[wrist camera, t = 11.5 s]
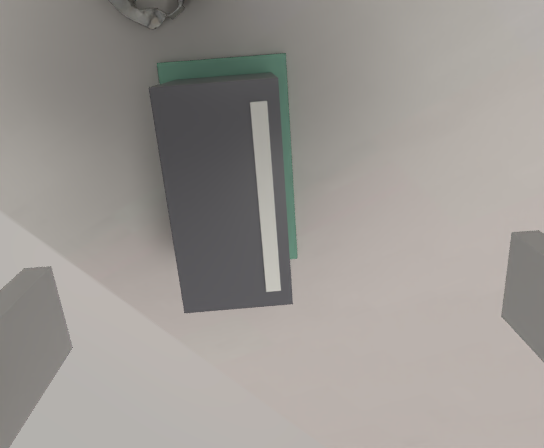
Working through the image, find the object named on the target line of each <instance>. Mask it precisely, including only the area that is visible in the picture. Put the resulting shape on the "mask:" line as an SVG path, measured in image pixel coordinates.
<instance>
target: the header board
mask: <svg viewBox="0 0 544 448" xmlns="http://www.w3.org/2000/svg"><path fill="white" fill-rule="evenodd" d="M157 68H158V75H159V82H160V84H163V83H166V82H169V81H173V80H177V79H190V78H203V77H216V76H229V75H242V74H255V73H268V72H272V73H273V74H274V75H275V76H277V77H278V82H279V98H280V113H281V129H282V145H283V160H284V176H285V191H286V207H287V223H288V238H289V254H290V259H296V258H297V242H296V225H295V207H294V190H293V172H292V155H291V138H290V120H289V103H288V86H287V68H286V53H282V54H269V55H256V56H243V57H230V58H216V59H203V60H190V61H177V62H164V63H157Z"/></svg>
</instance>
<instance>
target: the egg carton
mask: <svg viewBox="0 0 544 448" xmlns="http://www.w3.org/2000/svg"><path fill="white" fill-rule="evenodd" d="M109 1H110V2H111V4H112V5H113V6H114V7H115V8H116V9H117V10H118V11H119V12H120V13H121V14H122V15H124V16H125V17H127V18H129V19H131V20H133V21H135V22H137V23H139V24H142V25H144V26H146V27H148V28H150V29H151V30H153V29H156V28H157V27H159V26H160V25H161V23H162V22H163V20H164V19H165V17H166V16H167V17H169V18H171V19H174V18H175V17H176V16H178V15H179V14H180V13H181V12H183V10H184V8H185V7H184V5H183V1H184V0H178V4H179V6H178V8H177V9H176V10H175V11H174V12H173V13H171V14H166V13H164V12H162V11H160V10H159V9H158V8H148V9H140V10H139V9H137V8H136V6H135V4H134V3H135V1H136V0H109Z"/></svg>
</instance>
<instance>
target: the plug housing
mask: <svg viewBox="0 0 544 448" xmlns="http://www.w3.org/2000/svg"><path fill="white" fill-rule="evenodd" d="M149 92H150V99H151V105H152V111H153V117H154V124H155V130H156V136H157V143H158V149H159V155H160V161H161V168H162V174H163V180H164V187H165V193H166V199H167V206H168V212H169V218H170V224H171V231H172V237H173V243H174V250H175V256H176V262H177V269H178V275H179V281H180V287H181V294H182V300H183V306H184V313H193V312H205V311H216V310H228V309H240V308H252V307H264V306H275V305H287V304H293V301H292V285H291V270H290V254H289V238H288V223H287V207H286V191H285V176H284V160H283V145H282V129H281V113H280V98H279V82H278V77H277V76H275V75H274V74H273V73H272V72H268V73H255V74H242V75H229V76H216V77H203V78H190V79H177V80H173V81H169V82H166V83H163V84H159V85H156V86H153V87H149Z"/></svg>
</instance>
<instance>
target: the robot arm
mask: <svg viewBox="0 0 544 448" xmlns="http://www.w3.org/2000/svg"><path fill="white" fill-rule="evenodd" d="M501 316H502V317H503V319H504V320H505V321H506V322H507V323H508V324H509V325H510V326H511V327H512V328H513V329H514V331H515V332H516V333H517V334H518V335H519V336H520V337H521V338H522V339H523V340H524V341H525V342H526V344H527V345H528V346H529V347H530V348H531V349H532V350H533V351H534V352H535V353H536V354H537V356H538V357H539V358H540V359H541V360H542V361H543V362H544V234H543V233H542V232H540V231H539V230H538V231H525V232H512V234H511V242H510V250H509V258H508V266H507V275H506V283H505V291H504V299H503V307H502V315H501ZM72 348H73V347H72V344H71V340H70V336H69V332H68V329H67V325H66V321H65V318H64V313H63V310H62V306H61V302H60V299H59V295H58V291H57V287H56V283H55V280H54V276H53V272H52V268H51V266H50V267H36V268H24V269H23V270H22V271H21V272H20V273H19V274H17V275H16V276H15V277H14V278H13V279H12V280H11V281H10V282H9V283H8V284H7V285H5V286H4V287H3V288H2V289H1V290H0V448H9V447H10V445H11V444H12V442H13V441H14V439H15V438H16V436H17V434H18V433H19V431H20V430H21V428H22V427H23V425H24V423H25V422H26V420H27V419H28V417H29V416H30V414H31V412H32V411H33V409H34V408H35V406H36V404H37V403H38V401H39V400H40V398H41V397H42V395H43V393H44V392H45V390H46V389H47V387H48V386H49V384H50V383H51V381H52V379H53V378H54V376H55V375H56V373H57V372H58V370H59V368H60V367H61V365H62V364H63V362H64V361H65V359H66V357H67V356H68V354H69V353H70V351H71V350H72Z"/></svg>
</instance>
